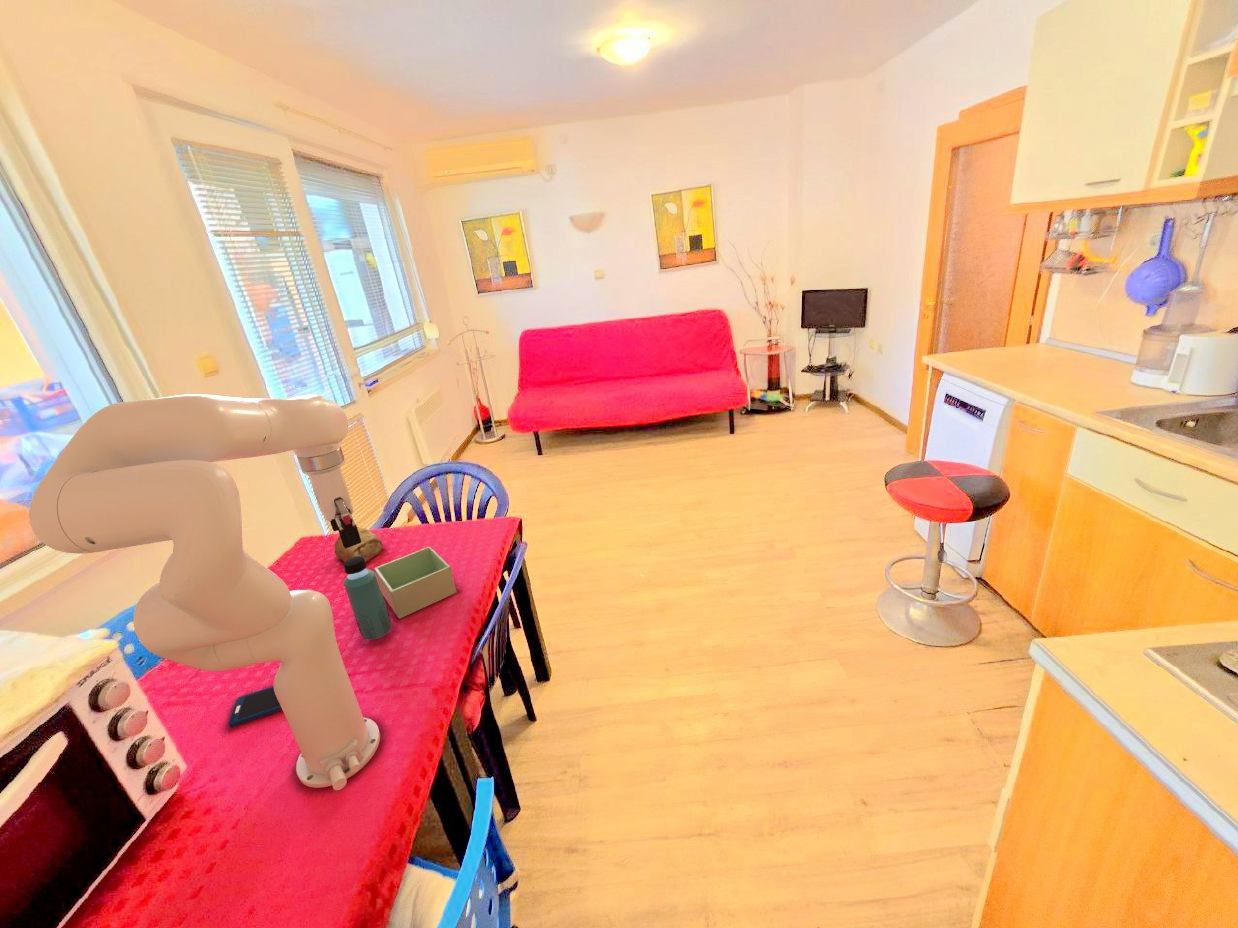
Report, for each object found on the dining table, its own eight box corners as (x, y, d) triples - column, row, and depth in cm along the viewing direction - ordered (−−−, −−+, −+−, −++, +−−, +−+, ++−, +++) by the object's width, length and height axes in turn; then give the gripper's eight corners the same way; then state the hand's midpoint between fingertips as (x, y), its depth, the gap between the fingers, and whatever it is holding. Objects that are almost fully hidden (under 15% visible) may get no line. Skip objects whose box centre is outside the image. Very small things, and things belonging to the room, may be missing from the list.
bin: (456, 592, 126) (450, 566, 123) (399, 619, 118) (391, 591, 115) (436, 570, 136) (429, 546, 134) (381, 593, 128) (374, 568, 125)
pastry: (344, 546, 153) (336, 523, 150) (387, 539, 156) (380, 516, 153) (330, 571, 140) (322, 546, 137) (378, 562, 143) (370, 537, 140)
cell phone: (237, 700, 98) (236, 697, 98) (317, 674, 103) (316, 671, 103) (227, 729, 92) (226, 725, 91) (313, 699, 97) (312, 696, 96)
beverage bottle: (400, 631, 113) (377, 555, 106) (373, 650, 108) (347, 571, 101) (383, 623, 117) (359, 548, 110) (356, 640, 112) (329, 564, 104)
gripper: (292, 455, 101) (318, 529, 108) (308, 477, 89) (336, 560, 95) (333, 444, 106) (355, 516, 112) (353, 464, 93) (377, 544, 99)
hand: (347, 536), depth 104 cm, fingers open, 9 cm apart
